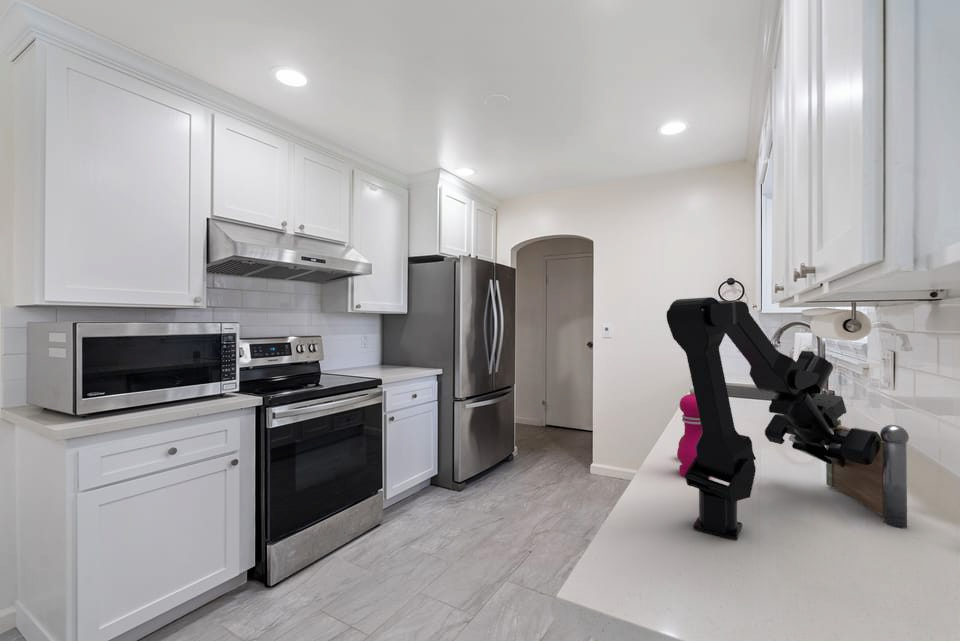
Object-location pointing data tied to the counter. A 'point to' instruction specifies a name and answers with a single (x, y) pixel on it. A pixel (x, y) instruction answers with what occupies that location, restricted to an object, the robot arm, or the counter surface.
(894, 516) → the gate post
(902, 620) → the counter surface
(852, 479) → the gate
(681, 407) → the pepper mill
